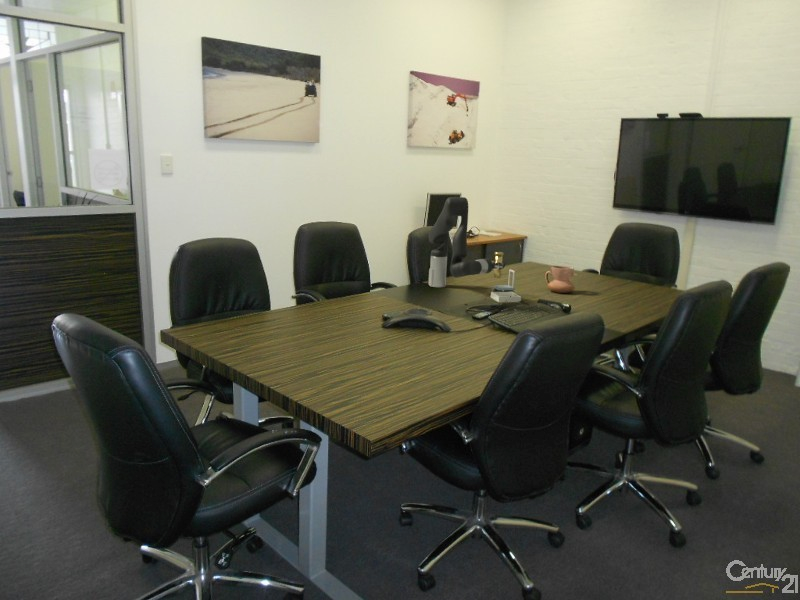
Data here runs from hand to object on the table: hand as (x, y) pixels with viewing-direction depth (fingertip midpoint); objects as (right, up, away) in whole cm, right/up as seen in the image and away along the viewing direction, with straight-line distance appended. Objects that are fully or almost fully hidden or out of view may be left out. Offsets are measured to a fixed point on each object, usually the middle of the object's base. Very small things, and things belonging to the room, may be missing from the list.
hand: (501, 263), depth 307 cm
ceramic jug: (+37, -14, +24) cm, 46 cm away
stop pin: (-2, -7, 0) cm, 8 cm away
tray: (+2, -19, -1) cm, 19 cm away
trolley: (+3, -16, +10) cm, 19 cm away
